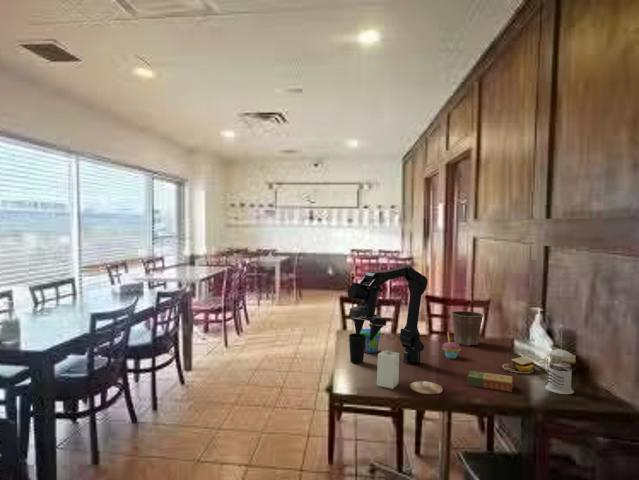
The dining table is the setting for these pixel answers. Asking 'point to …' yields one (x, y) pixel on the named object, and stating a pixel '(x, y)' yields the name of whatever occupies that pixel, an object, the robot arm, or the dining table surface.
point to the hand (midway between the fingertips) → (363, 338)
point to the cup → (357, 348)
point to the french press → (559, 372)
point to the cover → (388, 369)
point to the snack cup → (371, 345)
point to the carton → (490, 380)
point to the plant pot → (467, 327)
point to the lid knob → (426, 384)
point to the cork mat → (432, 390)
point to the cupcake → (451, 348)
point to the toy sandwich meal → (520, 365)
